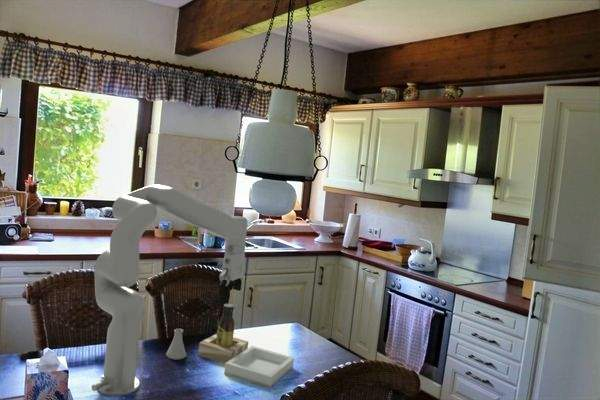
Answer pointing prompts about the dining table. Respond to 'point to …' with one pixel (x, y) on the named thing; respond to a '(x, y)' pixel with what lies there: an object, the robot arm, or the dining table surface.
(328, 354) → the dining table surface
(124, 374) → the robot arm
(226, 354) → the shallow rimmed box
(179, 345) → the flask
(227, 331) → the sauce bottle
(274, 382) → the tray
